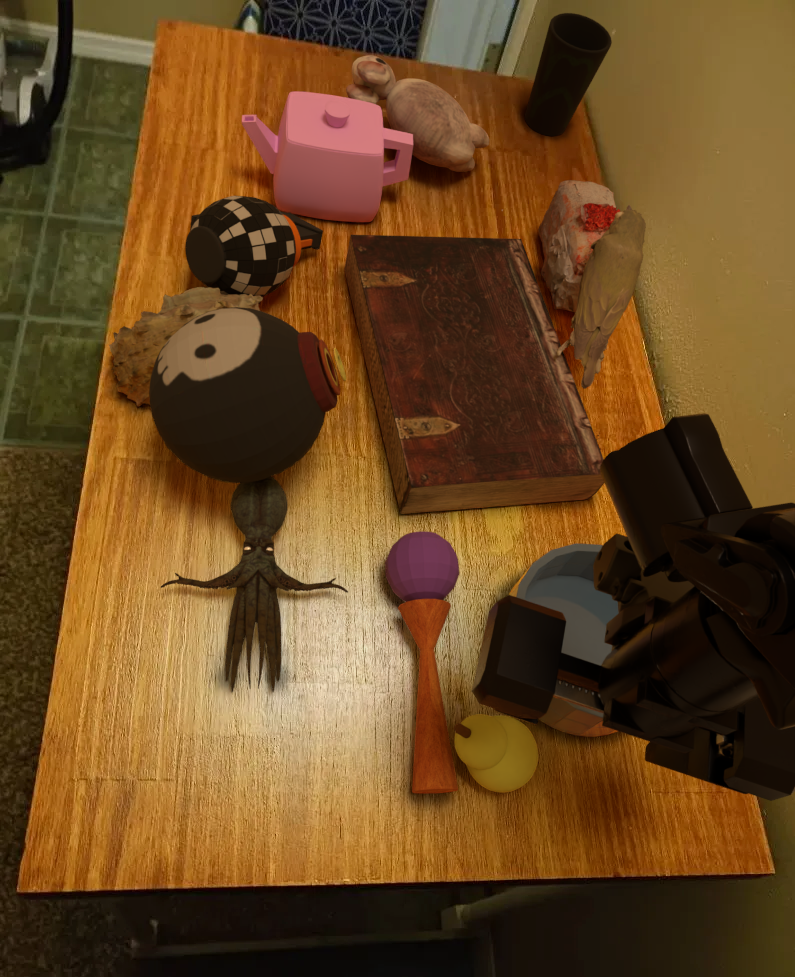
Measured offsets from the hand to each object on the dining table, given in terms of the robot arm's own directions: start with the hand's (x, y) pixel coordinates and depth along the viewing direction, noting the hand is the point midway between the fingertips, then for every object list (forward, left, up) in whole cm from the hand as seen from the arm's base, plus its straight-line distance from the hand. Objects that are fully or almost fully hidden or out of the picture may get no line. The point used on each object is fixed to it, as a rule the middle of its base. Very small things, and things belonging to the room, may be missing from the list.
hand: (582, 732), depth 54 cm
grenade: (+33, +41, -4) cm, 52 cm away
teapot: (+54, +34, -11) cm, 65 cm away
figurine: (+6, +24, -11) cm, 28 cm away
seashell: (+25, +38, -11) cm, 47 cm away
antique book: (+34, +14, -11) cm, 38 cm away
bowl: (+11, -2, -11) cm, 15 cm away
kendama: (+5, +10, -11) cm, 16 cm away
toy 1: (+14, +36, -4) cm, 39 cm away
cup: (+81, +13, -11) cm, 82 cm away
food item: (+53, +5, -11) cm, 55 cm away
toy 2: (+68, +21, -9) cm, 72 cm away
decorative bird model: (+44, +4, -4) cm, 45 cm away
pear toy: (0, +1, -10) cm, 10 cm away
